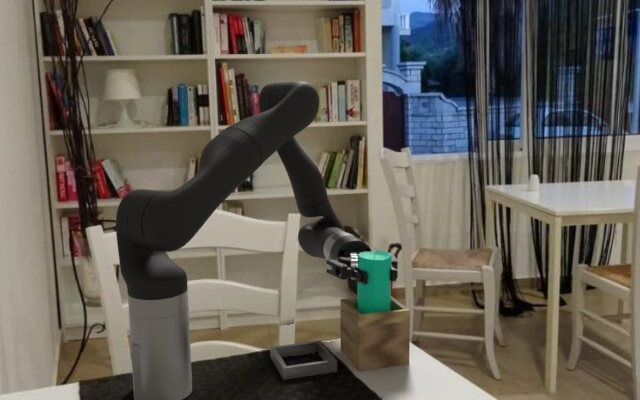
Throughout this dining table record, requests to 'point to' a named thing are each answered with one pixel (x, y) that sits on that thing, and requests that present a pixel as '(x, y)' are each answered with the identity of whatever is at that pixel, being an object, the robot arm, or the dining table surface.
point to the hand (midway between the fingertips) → (380, 277)
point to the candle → (374, 282)
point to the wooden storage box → (375, 335)
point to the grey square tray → (307, 368)
